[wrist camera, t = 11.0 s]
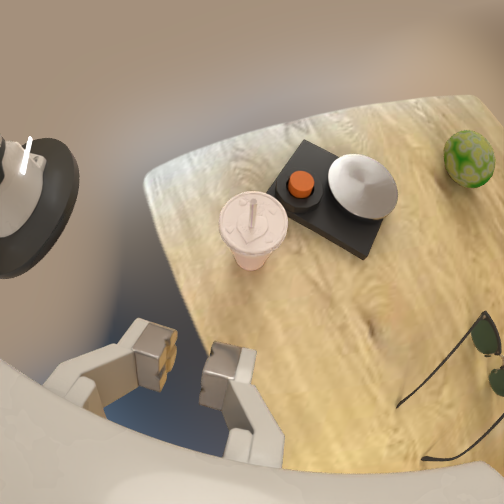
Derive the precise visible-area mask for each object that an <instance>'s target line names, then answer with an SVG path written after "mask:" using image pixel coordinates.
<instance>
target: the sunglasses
mask: <svg viewBox="0 0 504 504" xmlns="http://www.w3.org/2000/svg"><path fill="white" fill-rule="evenodd" d="M470 332H471V337H472V340H473V343H474V345H475V347H476V348H477V350H478V351H479V352H481V353H483V354H487V355H485V356H484V357H491V355H489V354H495V355H499V356H501V358H502V360H503V365H502V366H501V367H500V369H494V370H492V371H491V373H490V374H489V383H490V385H491V387H492V389H493V391H494V392H495V393H496V394H497V395H499V396H502V397H504V356H503V355H501V340H500V336H499V333H498V330H497V328H496V326H495V324H494V322H493V320H492V319H491V317H490V315H489V314H488V313H487V312H486V311H484V312H482V313H481V315H480V316H479V318H478V319H477V320H476V322H475V323H474V324H473V325H472V327H471V328H470V329H469V331H468V332H467V333H466V334H465V336H464V337H463V338H462V339H461V341H460V342H459V343H458V344H457V345H456V346H455V348H454V349H453V350H452V351H451V352H450V353H449V355H448V356H447V357H446V358H445V359H444V360H443V361H442V362H441V364H440V365H439V366H438V367H437V368H436V369H435V370H434V371H433V372H432V373H431V374H430V376H429V377H428V378H427V379H426V380H425V381H424V382H423V383H422V384H421V385H420V386H419V387H418V388H417V389H416V390H414V391H413V392H412V393H411V394H410V395H408V396H407V397H406V398H404V399H403V400H402V401H400V402H399V404H398V405H397V407H396V408H398V407H399V406H400V405H401V404H402V403H404V402H405V401H406V400H407V399H408V398H409V397H410V396H412V395H413V394H414V393H415V392H416V391H417V390H418V389H419V388H420V387H422V386H423V385H424V384H425V383H426V382H427V381H428V380H429V379H430V378H431V377H432V376H433V375H434V374H435V372H436V371H437V370H438V369H439V368H440V367H441V366H442V365H443V364H444V363H445V362H446V361H447V359H448V358H449V357H450V356H451V355H452V354H453V353H454V352H455V350H456V349H457V348H458V347H459V346H460V344H461V343H462V342H463V341H464V340H465V338H466V337H467V336H468V335H469V334H470ZM503 418H504V413H503V415H502V416H501V417H500V418H499V419H498V420H497V421H496V422H495V423H494V424H493V425H492V427H491V428H490V429H489V430H488V431H487V432H486V433H485V434H484V435H483V436H482V437H480V438H479V439H478V440H477V441H476V442H475V443H474V444H473V445H472V446H470V447H469V448H468V449H467V450H466V451H464V452H463V453H461V454H460V455H458V456H456V457H453V458H445V459H444V458H433V457H429V456H425V457H423V458H422V459H421V460H422V461H451V460H454V459H456V458H459V457H460V456H462V455H463V454H465V453H466V452H468V451H469V450H470V449H472V448H473V447H474V446H475V445H476V444H478V443H479V442H480V441H481V440H482V439H483V438H484V437H485V436H486V435H487V434H488V433H489V432H490V431H491V430H492V429H493V428H494V427H495V426H496V425H497V424H498V423H499V422H500V421H501V420H502V419H503Z"/></svg>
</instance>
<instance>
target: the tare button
mask: <svg viewBox="0 0 504 504" xmlns="http://www.w3.org/2000/svg"><path fill="white" fill-rule="evenodd" d="M313 186H314V179H313V177H312V176H311V175H310V174H309V173H307V172H305V171H296V172H294V173H293V174H292V175H291V176H290V180H289V184H288V190H289V192H290V193H291V195H293V196H294V197H296V198H306V197H308V196H309V195H310V194H311V191H312V189H313Z"/></svg>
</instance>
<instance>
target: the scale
mask: <svg viewBox="0 0 504 504" xmlns="http://www.w3.org/2000/svg"><path fill="white" fill-rule="evenodd" d="M338 158H339V157H338V156H336V155H334V154H332V153H330V152H328V151H326V150H324V149H322V148H320V147H318V146H316V145H314V144H312V143H310V142H308V141H306V140H303V141H302V143H301V144H300V146H299V147H298V148H297V150H296V151H295V153H294V154H293V155H292V157H291V158H290V160H289V161H288V163H287V164H286V165H285V167H284V168H283V170H282V171H281V172H280V174H279V175H278V177H277V178H276V180H275V181H274V182H273V184H272V185H271V187H270V188H269V190H268V191H267V192H266V194H269V195H271V196H272V197H274V198H275V199H277V200H278V201H279V202H280V203H281V205H282V206H283V207H284V209H285V211H286V214H287V216H288V217H290V218H291V219H293V220H295V221H297V222H298V223H300V224H302V225H304V226H306V227H307V228H309V229H311V230H313V231H314V232H316V233H318V234H320V235H321V236H323V237H325V238H327V239H328V240H330V241H332V242H334V243H335V244H337V245H339V246H340V247H342V248H344V249H346V250H347V251H349V252H351V253H352V254H354V255H356V256H357V257H359V258H361V259H362V260H364V259H365V258H366V257H367V256H368V254H369V251H370V249H371V247H372V244H373V242H374V240H375V237H376V235H377V232H378V230H379V228H380V225H381V223H382V220H383V218H382V219H379V220H363V219H360V218H357V217H354V216H352V215H350V214H349V213H347V212H346V211H344V210H343V209H342V208H341V207H340V206H339V205H338V204H337V203H336V202H335V200H334V199H333V197H332V195H331V193H330V191H329V188H328V184H327V175H328V171H329V169H330V167H331V165H332V163H333V162H334V161H335V160H336V159H338ZM296 171H305V172H307V173H309V174H310V175H311V176H312V177H313V179H314V186H313V189H312V191H311V194H310V195H309V196H308V197H306V198H296V197H294V196H293V195H291V193H290V192H289V190H288V184H289V180H290V176H291V175H292V174H293V173H294V172H296Z"/></svg>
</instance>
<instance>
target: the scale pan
mask: <svg viewBox="0 0 504 504" xmlns="http://www.w3.org/2000/svg"><path fill="white" fill-rule="evenodd" d="M327 184H328V188H329V191H330V193H331V195H332V197H333V199H334V200H335V202H336V203H337V204H338V205H339V206H340V207H341V208H342V209H343V210H344V211H346V212H347V213H349V214H350V215H352V216H354V217H357V218H360V219H363V220H379V219H382V218H384V217H386V216H387V215H389V214H390V213H391V212H392V211H393V209H394V208H395V206H396V203H397V199H398V191H397V186H396V183H395V181H394V179H393V177H392V175H391V174H390V173H389V171H388V170H387V169H386V168H385V167H384V166H383V165H381V164H380V163H379V162H377V161H376V160H374V159H372V158H370V157H367V156H364V155H360V154H348V155H344V156H341V157H339V158H338V159H336V160H335V161H334V162H333V163H332V165H331V167H330V169H329V171H328V175H327Z"/></svg>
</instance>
